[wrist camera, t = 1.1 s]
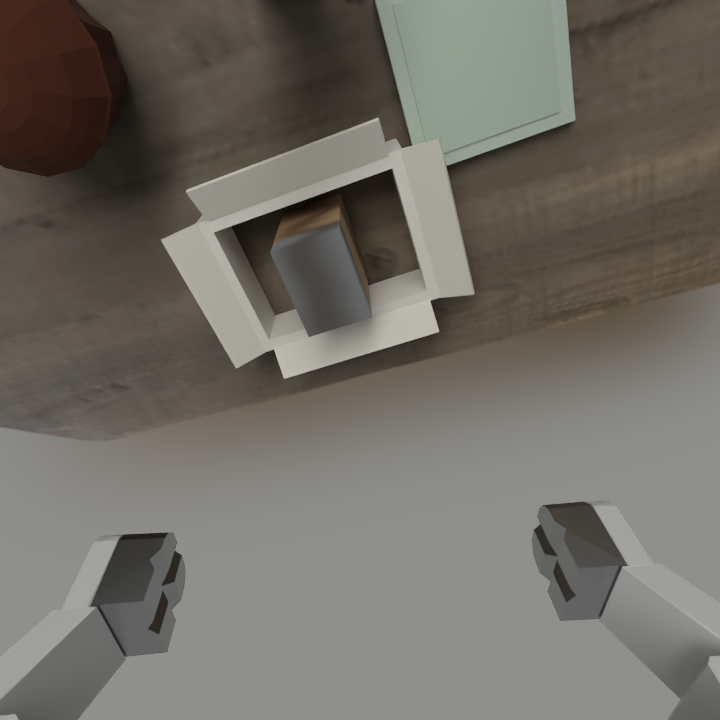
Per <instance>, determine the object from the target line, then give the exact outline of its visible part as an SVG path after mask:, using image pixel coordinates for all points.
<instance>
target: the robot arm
mask: <svg viewBox="0 0 720 720" xmlns="http://www.w3.org/2000/svg"><path fill="white" fill-rule="evenodd" d="M537 517H538V519H539V521H540V525H539V526H538V527H537V528H536V529H534V533H533V538H532V545H533V554H534V557H535V561H536V564H537V567H538V569H539V571H540V573H541V574H542V575H544V576H545V577H546V578H547V579H548V580H550V581H551V582H550V585H549V589H548V593H549V595H550V598H551V600H552V602H553V605H554V607H555V610H556V612H557V614H558V617H559V619H560V621H565V620H586V619H600V622H601V623H602V624H603V625H604V626H605V627H606V628H607V629H608V630H609V631H610V632H611V633H612V634H613V635H615V636H616V637H617V638H618V639H619V640H620V641H621V642H622V643H623V644H624V645H625V646H626V647H627V648H628V649H629V650H630V651H631V652H632V653H633V654H634V655H635V656H636V657H638V659H640V661H642V662H643V663H644V664H645V665H646V666H647V667H648V668H649V669H650V670H651V671H652V672H653V673H654V674H655V675H656V676H657V677H658V678H659V679H660V680H661V681H662V682H663V683H664V684H666V686H667V687H668V688H670V689H671V690H672V691H673V692H674V693H675V694H676V695H677V696H678V697H679V698H680V699H681V700H680V701H679V703H678V704H677V706H676V707H675V709H674V710H673V712H672V713H671V715H670V716H669V718H668V720H720V603H719V602H717V601H716V600H714V599H713V598H711V597H710V596H708V595H707V594H705V593H704V592H702V591H701V590H699V589H698V588H696V587H695V586H694V585H692V584H690V583H689V582H687V581H686V580H684V579H683V578H682V577H680V576H679V575H677V574H676V573H674V572H673V571H671V570H669V569H668V568H667V567H665V566H664V565H662V564H654V563H653V562H652V560H651V559H650V557H649V555H648V554H647V553H646V551H645V549H644V548H643V546H642V545H641V543H640V542H639V540H638V539H637V537H636V536H635V535H634V533H633V531H632V530H631V528H630V527H629V525H628V524H627V522H626V521H625V519H624V518H623V516H622V515H621V513H620V512H619V510H618V509H617V507H616V506H615V504H614V503H612V502H611V501H610V500H608V501H596V502H595V501H594V502H575V503H564V504H551V505H542V507H541V508H540V509H539V512H538V516H537ZM176 544H177V541H176V539H175V537H174V534H173V533H150V534H127V535H111V536H100V537H99V538H98V539H97V540H96V541H95V542H94V543H93V545H92V547H91V549H90V551H89V553H88V555H87V557H86V559H85V561H84V564H83V565H82V568H81V570H80V572H79V574H78V576H77V578H76V580H75V582H74V584H73V586H72V588H71V591H70V593H69V595H68V597H67V599H66V601H65V603H64V605H63V607H62V609H57V610H53V611H52V612H51V613H50V614H49V615H48V616H46V617H45V618H44V619H43V620H42V621H41V622H40V623H39V624H38V625H36V626H35V627H34V628H33V629H32V630H31V631H29V633H27V634H26V635H25V636H24V637H23V638H21V639H20V640H19V641H18V642H17V643H16V644H15V645H13V646H12V647H11V648H10V649H9V650H8V651H7V652H6V653H4V654H3V655H2V656H1V657H0V720H78V718H79V717H80V716H81V715H82V713H83V712H84V711H85V710H86V708H87V707H88V706H89V705H90V703H91V702H92V701H93V700H94V698H95V697H96V696H97V694H98V693H99V692H100V691H101V690H102V688H103V687H104V686H105V684H106V683H107V682H108V681H109V680H110V678H111V677H112V676H113V674H114V673H115V672H116V671H117V670H118V668H119V667H120V666H121V665H122V663H123V662H124V661H125V657H127V656H136V655H144V654H154V653H163V652H167V650H168V647H169V643H170V639H171V636H172V632H173V628H174V624H175V621H176V620H175V617H174V615H173V612H172V609H173V608H174V607H175V606H176V605H177V604H178V603H179V602H180V600H181V598H182V594H183V590H184V583H185V565H184V561H183V558H182V555H180V554H179V553H177V552H176V551H175V548H176Z"/></svg>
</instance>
